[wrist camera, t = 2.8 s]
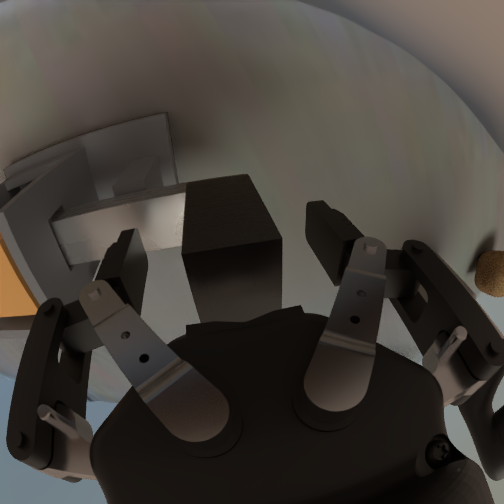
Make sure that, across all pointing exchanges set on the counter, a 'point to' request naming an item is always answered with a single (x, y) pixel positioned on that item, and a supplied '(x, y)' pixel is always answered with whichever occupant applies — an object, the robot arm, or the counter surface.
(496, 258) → the natural sponge
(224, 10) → the counter surface
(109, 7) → the counter surface
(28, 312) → the orange square block
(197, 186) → the grey handle
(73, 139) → the chute frame
